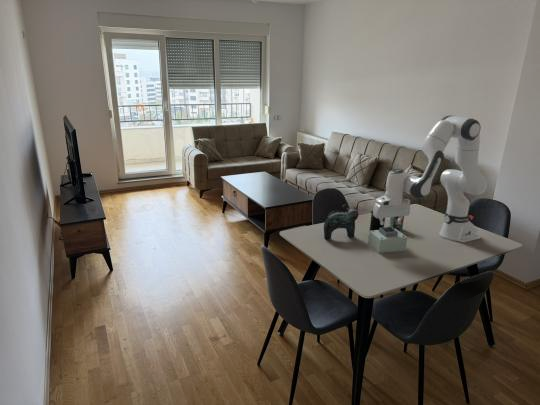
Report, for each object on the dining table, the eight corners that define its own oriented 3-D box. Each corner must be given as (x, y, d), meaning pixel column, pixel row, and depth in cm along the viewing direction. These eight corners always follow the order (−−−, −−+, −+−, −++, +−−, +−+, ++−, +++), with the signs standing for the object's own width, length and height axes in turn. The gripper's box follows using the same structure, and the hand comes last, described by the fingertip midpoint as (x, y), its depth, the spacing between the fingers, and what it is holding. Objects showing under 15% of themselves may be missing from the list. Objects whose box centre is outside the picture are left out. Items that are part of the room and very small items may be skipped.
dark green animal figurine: (353, 234, 223) (356, 202, 216) (358, 238, 217) (361, 205, 210) (321, 236, 218) (324, 204, 212) (326, 241, 212) (328, 208, 206)
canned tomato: (393, 225, 236) (395, 209, 233) (404, 229, 231) (407, 212, 227) (386, 228, 231) (388, 212, 227) (398, 232, 226) (400, 215, 222)
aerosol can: (383, 242, 213) (387, 208, 206) (368, 240, 214) (372, 207, 208) (382, 236, 220) (386, 204, 214) (367, 234, 222) (371, 202, 215)
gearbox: (393, 241, 214) (395, 224, 210) (405, 250, 203) (408, 232, 199) (367, 243, 210) (369, 226, 207) (378, 253, 199) (380, 235, 196)
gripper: (407, 196, 203) (404, 220, 207) (372, 199, 198) (370, 223, 203) (414, 200, 197) (410, 224, 202) (378, 203, 192) (376, 227, 197)
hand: (390, 223), depth 202 cm, fingers open, 8 cm apart
